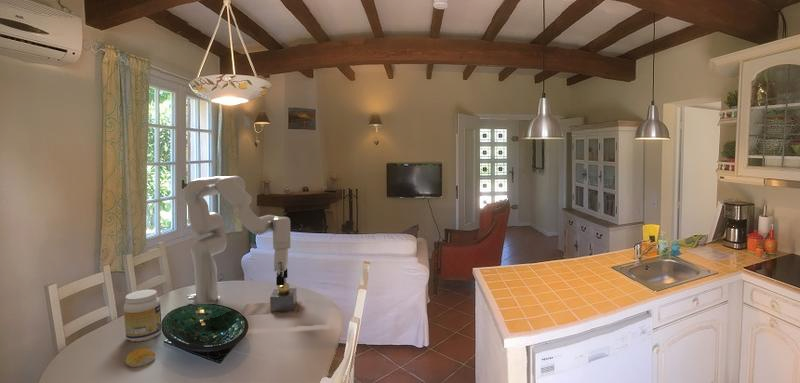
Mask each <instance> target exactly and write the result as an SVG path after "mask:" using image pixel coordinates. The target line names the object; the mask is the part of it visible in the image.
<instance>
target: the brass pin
mask: <svg viewBox="0 0 800 383" xmlns="http://www.w3.org/2000/svg"><path fill="white" fill-rule="evenodd" d="M276 287H277V288H276V289H277V292H278V294H280V295H284V294H288V293H289V288H290V283H288V282H286V283H284V285H279V286H277V285H276Z"/></svg>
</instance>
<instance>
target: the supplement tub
mask: <svg viewBox="0 0 800 383" xmlns="http://www.w3.org/2000/svg"><path fill="white" fill-rule="evenodd" d="M122 310H123V316H124V317H123V318H124V332H125V338H126V340H128V341H129V340H130V341H129V342H135V341H136V342H143V340H144V341H147V340H151V339H153V338H155V337H157V336H158V335H160V333H162V331H161V323H162V310H161V300H160V298H159V297H158V292H157V290H156V289H142V290H137V291H133V292H130V293H128V294H126V295H125V303H124V305H123V309H122ZM162 324H163V323H162Z"/></svg>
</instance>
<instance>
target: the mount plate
mask: <svg viewBox="0 0 800 383" xmlns="http://www.w3.org/2000/svg"><path fill="white" fill-rule="evenodd" d="M301 305H302V301H299V300H298V301H297V303H296V306H295V309H294V311H288V312H271V309H270V302H259V303H257V302H256V303H246V304H245V305H244V307H243V308H242V310H241V312H240V313H241V314H242V315H241V316H253V315H257V316H258V315H275V314H278V315H279V314H292V313H296V314H297V313H299V311H300V308H301Z"/></svg>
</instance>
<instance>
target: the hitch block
mask: <svg viewBox="0 0 800 383" xmlns="http://www.w3.org/2000/svg"><path fill="white" fill-rule="evenodd" d="M297 300H298V298H297V288H296V287H295V288H294V287H293V288H290V287H289V293H288V294H284V295H280V294H278V292H277V288H275V289H273V291H272V292H271V294H270V297H269V303H270V309H271V312H288V311H294V309H295V306H296V303H297Z"/></svg>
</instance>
